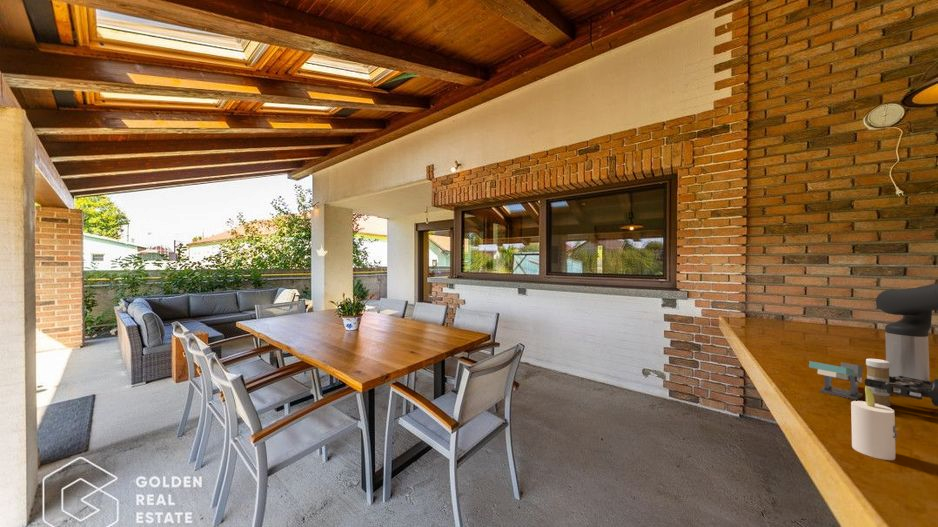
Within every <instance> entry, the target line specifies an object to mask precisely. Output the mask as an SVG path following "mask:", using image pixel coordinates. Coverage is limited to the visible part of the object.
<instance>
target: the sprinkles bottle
mask: <svg viewBox="0 0 938 527" xmlns="http://www.w3.org/2000/svg"><path fill="white" fill-rule="evenodd" d="M865 365H866V379H873V380H878V381H883V382H890V380H889V368H890V363H889V362H888V361H886V359H885V360H884V359H879V358H878V359H877V358H866V359H865ZM867 387H868V388H869V389H870V390H871V392H872V394H873V397H874V401H875V403H876V404H880V405H883V406H886V407H891V394H889V393H887V391H885V390H883V389H878V388H873V387H869V386H867Z"/></svg>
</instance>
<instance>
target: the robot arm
mask: <svg viewBox="0 0 938 527" xmlns="http://www.w3.org/2000/svg"><path fill="white" fill-rule="evenodd" d="M875 305H876V307H877V308H878V309H879V310H880V311H882V312H883V313H885V314H888V315H895V316H903V317H902V318H901V319H899V320H897V321H894V322H890V323H887V324H886V325H885V333H884V334H885V335H884V336H885V361H888V362H889V363H890V368H889V380H890V382H883V381H878V380H873V379H867V378H865V379H864V386H869V387H873V388H878V389H883V390H885V391H887V393H889V394H890V395H895V396H900V397H906V398H911V399H915V400H919V401H920V400H923V398H929V399H931V403H932V405H933V406H935V407H938V378H934V379H933V380H932V381H930V351H929V350H930V349H929V348H930V346H929V332H930V330H931V328H932V319H933V318H932V317H933V311H935V312H936V311H938V283H932V284H926V285H922V286H918V287H913V288H911V287H910V288H902V289H901V288H900V289H894V288H892V289H886V290H883V291H880V293H879V294H878V295H877V296H876V298H875Z"/></svg>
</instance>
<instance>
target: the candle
mask: <svg viewBox="0 0 938 527" xmlns="http://www.w3.org/2000/svg"><path fill="white" fill-rule="evenodd" d="M864 386H865V387H864V393H865V401H863V400H857V401H856V400H853V401H851V402H850V412H851V414H850V416H851V447H852V449H853V450H855V451H856V452H858V453H860V454H863V455H865V456H868V457H871V458H873V459H874V458H875V459H878V460H879V459H880V460H884V461H895V460H896V439H897V437H898V431H897V430H896V428H898V425H895V424H896V421H895V420H896V419H895V410H894V409H892V408H891V407H890V406H888V407H886V406H883V405H880V404H876V403H875V401H874V397H873V394H872V392H871V390H870V389H869V388H868V387H867V386H866V385H864Z"/></svg>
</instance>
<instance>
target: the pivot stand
mask: <svg viewBox="0 0 938 527" xmlns="http://www.w3.org/2000/svg"><path fill="white" fill-rule="evenodd" d="M823 380H824V382H823V383H824V386H823V387H821V388H820V390H819V391H820V393H823V394H828V395H831V394H832V395H831V396H835V395H836V397H840V396H841V397H840V398H844V397H846V398H845V399H848V398H850V399H849V400H852V399H854V400H853V401H856V400H857V401H859V398H860V399H861V398H863V397H862V396H864V395H863V393H861V392H859V383H861V382H860V377H858V374H857V373H855V375H854V376H850V381H849V387H850V389H844V388H840V387H836V386H833V377H831V376H826V375H823Z"/></svg>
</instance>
